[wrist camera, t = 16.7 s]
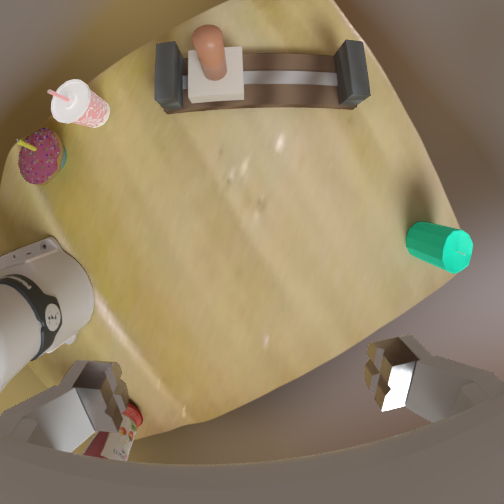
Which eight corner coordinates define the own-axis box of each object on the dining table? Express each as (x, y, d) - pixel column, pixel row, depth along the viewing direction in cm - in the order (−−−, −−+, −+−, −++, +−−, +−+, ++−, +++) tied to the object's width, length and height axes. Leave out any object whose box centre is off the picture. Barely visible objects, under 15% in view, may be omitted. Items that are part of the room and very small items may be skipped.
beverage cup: (84, 138, 41) (32, 124, 27) (77, 104, 40) (28, 82, 26) (117, 123, 41) (72, 101, 27) (110, 89, 40) (67, 59, 26)
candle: (402, 255, 46) (443, 274, 34) (409, 218, 45) (453, 227, 33) (430, 260, 46) (474, 279, 35) (437, 224, 45) (483, 235, 33)
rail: (167, 114, 41) (152, 99, 33) (167, 65, 40) (154, 44, 32) (352, 109, 42) (372, 95, 34) (347, 62, 40) (364, 42, 32)
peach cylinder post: (191, 103, 38) (171, 69, 26) (191, 58, 37) (173, 14, 24) (244, 99, 39) (244, 63, 26) (242, 55, 37) (241, 7, 25)
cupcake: (52, 124, 40) (8, 112, 29) (85, 147, 41) (42, 137, 30) (29, 169, 42) (-17, 168, 30) (60, 194, 43) (14, 198, 31)
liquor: (104, 395, 50) (42, 504, 22) (138, 395, 50) (84, 516, 22) (118, 424, 51) (69, 531, 24) (150, 424, 51) (111, 541, 24)
